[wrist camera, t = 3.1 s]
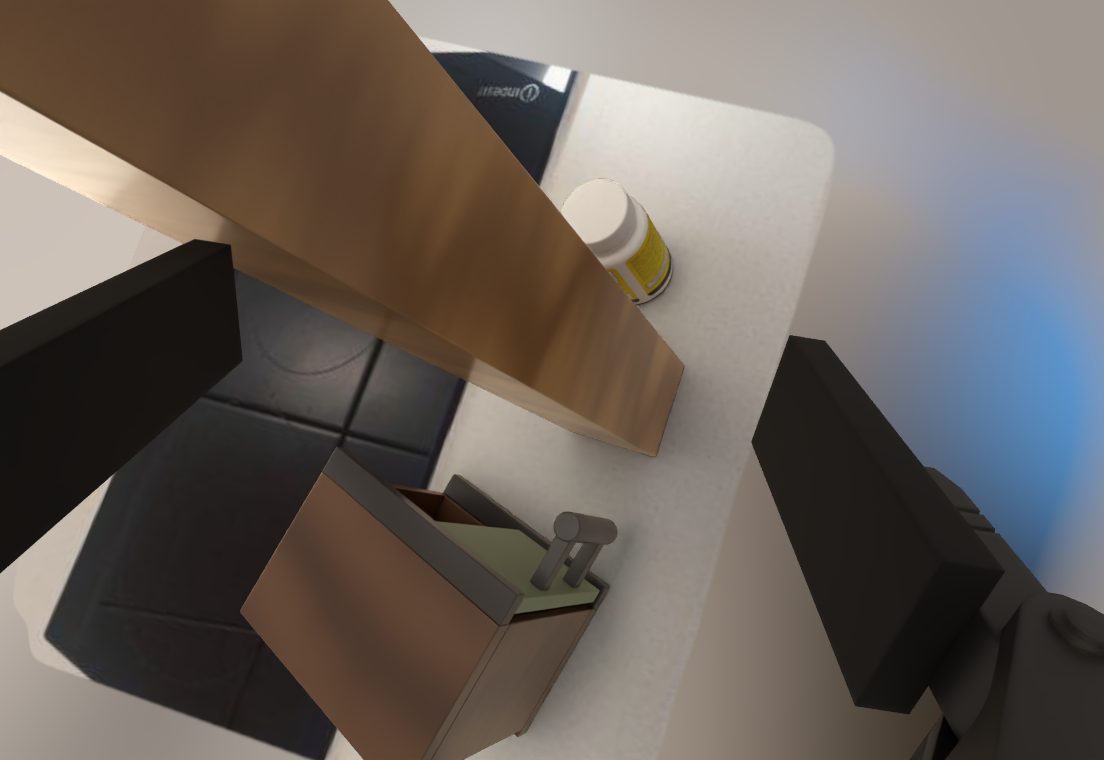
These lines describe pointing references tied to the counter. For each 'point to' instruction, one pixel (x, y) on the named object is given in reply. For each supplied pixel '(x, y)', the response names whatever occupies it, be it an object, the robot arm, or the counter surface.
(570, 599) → the sliding door
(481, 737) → the cabinet
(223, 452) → the counter surface
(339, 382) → the counter surface
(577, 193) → the supplement bottle
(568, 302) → the stand
